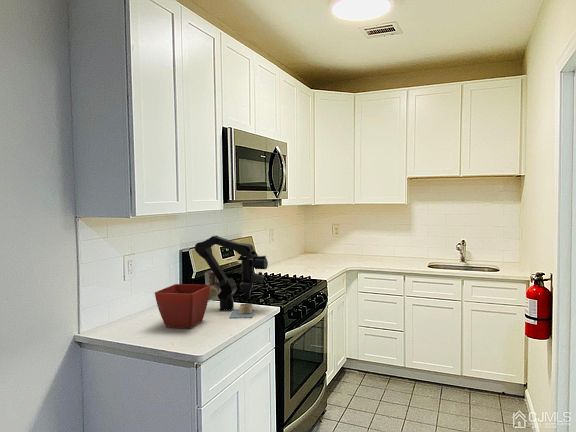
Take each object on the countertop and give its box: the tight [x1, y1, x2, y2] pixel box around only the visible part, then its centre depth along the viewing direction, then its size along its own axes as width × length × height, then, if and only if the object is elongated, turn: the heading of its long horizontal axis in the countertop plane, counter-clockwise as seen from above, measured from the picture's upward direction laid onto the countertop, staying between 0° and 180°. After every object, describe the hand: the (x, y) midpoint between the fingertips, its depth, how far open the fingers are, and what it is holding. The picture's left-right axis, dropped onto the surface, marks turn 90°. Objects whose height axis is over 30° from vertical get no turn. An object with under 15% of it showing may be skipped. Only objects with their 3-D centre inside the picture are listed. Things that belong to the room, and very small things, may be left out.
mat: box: [229, 309, 255, 319], centre depth 210 cm, size 11×12×1 cm
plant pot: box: [154, 283, 210, 329], centre depth 196 cm, size 19×19×17 cm
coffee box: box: [204, 270, 221, 301], centre depth 242 cm, size 9×6×16 cm
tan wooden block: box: [238, 303, 254, 314], centre depth 213 cm, size 6×3×9 cm
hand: (248, 298), depth 217 cm, fingers closed
